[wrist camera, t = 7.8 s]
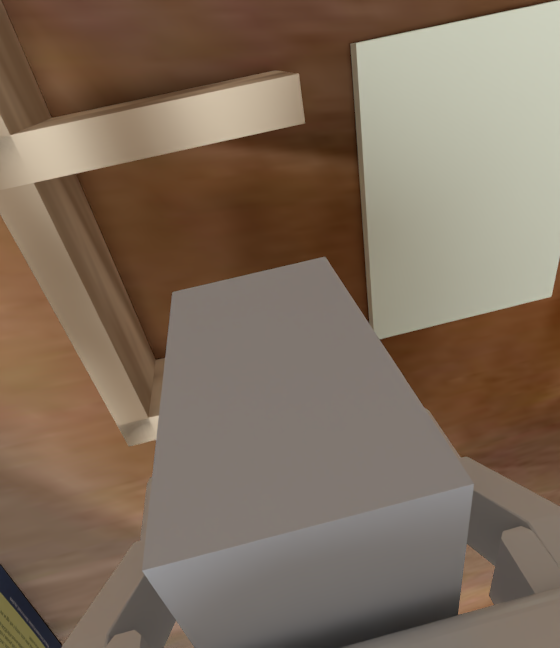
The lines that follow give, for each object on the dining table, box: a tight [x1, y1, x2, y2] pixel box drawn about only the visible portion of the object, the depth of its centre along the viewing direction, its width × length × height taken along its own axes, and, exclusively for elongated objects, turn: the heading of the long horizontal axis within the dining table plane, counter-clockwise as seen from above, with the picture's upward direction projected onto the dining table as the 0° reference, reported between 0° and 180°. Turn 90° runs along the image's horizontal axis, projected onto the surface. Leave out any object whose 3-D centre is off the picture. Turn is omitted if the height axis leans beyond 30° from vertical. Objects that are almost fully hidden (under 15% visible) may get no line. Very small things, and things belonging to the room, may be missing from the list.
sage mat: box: [350, 0, 560, 339], centre depth 23 cm, size 12×16×1 cm
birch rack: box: [0, 0, 305, 446], centre depth 17 cm, size 12×29×5 cm, turn 10°
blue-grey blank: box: [142, 257, 474, 648], centre depth 10 cm, size 4×8×7 cm, turn 10°
